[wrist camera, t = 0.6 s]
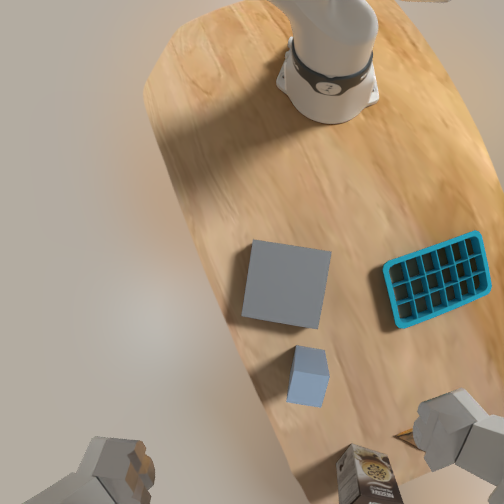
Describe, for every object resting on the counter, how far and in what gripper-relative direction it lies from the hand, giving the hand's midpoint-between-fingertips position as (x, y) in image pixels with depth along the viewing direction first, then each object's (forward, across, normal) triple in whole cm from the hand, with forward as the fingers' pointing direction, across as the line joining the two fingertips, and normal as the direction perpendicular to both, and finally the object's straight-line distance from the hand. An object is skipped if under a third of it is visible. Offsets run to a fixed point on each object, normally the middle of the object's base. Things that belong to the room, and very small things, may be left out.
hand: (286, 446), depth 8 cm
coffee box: (+33, -17, +47) cm, 60 cm away
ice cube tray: (+39, -32, +12) cm, 52 cm away
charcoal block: (+44, -6, +11) cm, 46 cm away
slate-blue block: (+40, -8, +25) cm, 48 cm away
